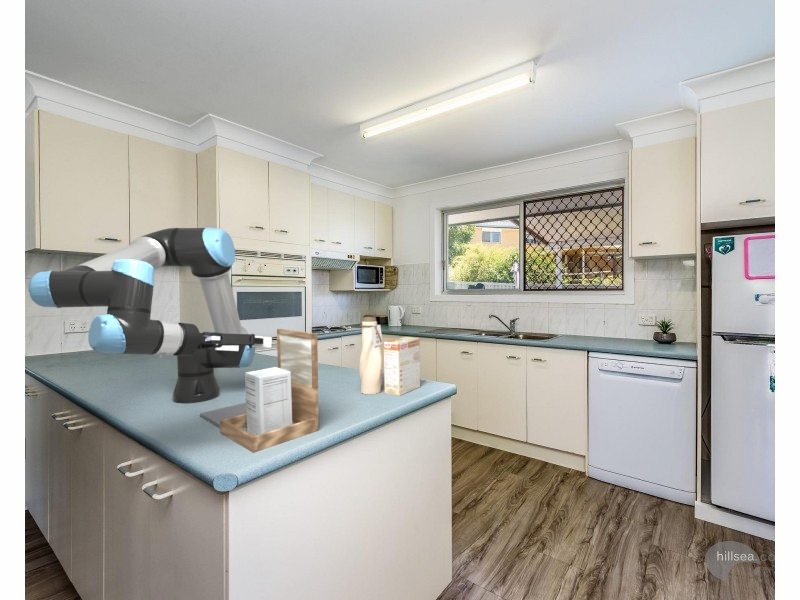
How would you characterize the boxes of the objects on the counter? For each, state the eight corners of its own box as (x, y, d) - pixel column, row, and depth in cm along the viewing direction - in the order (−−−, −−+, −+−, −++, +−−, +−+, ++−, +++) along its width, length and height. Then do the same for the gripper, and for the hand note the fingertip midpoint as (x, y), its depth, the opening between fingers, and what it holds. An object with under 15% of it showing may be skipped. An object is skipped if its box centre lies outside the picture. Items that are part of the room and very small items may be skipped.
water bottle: (390, 390, 147) (389, 317, 146) (376, 396, 140) (375, 319, 139) (368, 387, 153) (367, 316, 152) (354, 392, 145) (352, 318, 144)
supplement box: (277, 423, 114) (276, 366, 113) (293, 431, 108) (292, 371, 107) (245, 432, 107) (243, 371, 107) (260, 441, 101) (258, 377, 100)
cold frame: (253, 452, 94) (250, 341, 93) (220, 432, 107) (217, 335, 106) (319, 430, 108) (317, 333, 107) (282, 415, 121) (280, 329, 120)
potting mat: (221, 429, 110) (221, 425, 110) (199, 416, 121) (199, 413, 121) (273, 414, 122) (273, 411, 121) (249, 404, 132) (249, 401, 132)
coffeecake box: (405, 384, 156) (405, 336, 156) (421, 387, 152) (420, 337, 152) (383, 393, 144) (382, 341, 143) (399, 396, 140) (398, 342, 139)
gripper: (145, 358, 94) (224, 360, 111) (206, 352, 81) (285, 355, 99) (148, 327, 95) (226, 334, 113) (208, 316, 82) (285, 326, 100)
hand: (253, 344), depth 106 cm, fingers open, 13 cm apart
